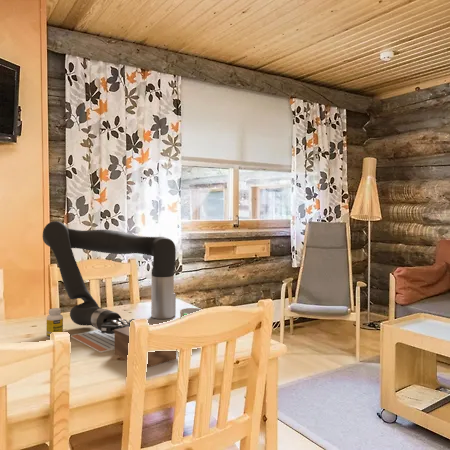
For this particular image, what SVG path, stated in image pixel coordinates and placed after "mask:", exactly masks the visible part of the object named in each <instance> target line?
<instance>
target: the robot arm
mask: <svg viewBox="0 0 450 450" xmlns="http://www.w3.org/2000/svg"><path fill="white" fill-rule="evenodd" d="M42 230H43V231H42V240H43V242H44V244H45V245H46V246H48V247H49V248H50V249H51V250H52V252H53V254H54V256H55V259H56V262H57V265H58V269H59V272H60V277H61V279H62V283H63V285H64V288H65V290H66V293H67V296H68V298H69V299H70V300H76V299H80V300H82V301H83V302H81V303H79V304H76V305H74V306H73V307H72V308H71V309H70V311H69V318H70V319H71V321H72V322H73V323H74V324H75V325H77V326H91V327H94V328H95V330H100V331H101V333H107V334H115V332H114V330H115V329H119V328H124V327H129V326H130V322H131V321H132V320H136V319H134V318H132V319H130V320H129V321H128V320H127V319H123V318H122V317H121V315H120V314H119V313H118V312H115V311H112V310H110V309H107V308H103V307H100V305H99V304H98V302H97V301H96V300H95V299H94V297H93V296H92V295H91V293H90V292H89V290H88V289H87V286H86V283H85V280H84V278H83V275H82V273H81V270H80V269H79V266H78V263H77V261H76V259H75V255H74V252H73V249H79V250H85V251H90V252H97V253H104V254H112V255H113V254H115V255H131V254H140V255H146V256H151V257H152V258H153V259H152V260H153V263H152V268H151V298H150V299H151V304H150V305H151V312H150V313H151V315H150V316H151V318H152V319H157V320H162V319H163V320H165V319H167V320H168V319H171V318H174V317H176V299H177V298H176V296H177V295H176V293H175V292H174V291H175V286H174V285H175V269H176V260H177V259H176V257H177V256H176V255H177V253H176V251H177V250H176V244H175V242H174V241H173V239H171V238H168V237H165V236H143V235H137V234H133V233H128V232H123V231H118V230H113V229H111V230H110V229H91V230H90V229H88V230H81V229H73V228H69V227H67V226H66V224H64V223H62V222H60V221H57V220H55V221H54V220H53V221H51V222H49V223H47V224H46V225H45V227H44V228H43V229H42Z"/></svg>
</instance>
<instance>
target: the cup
mask: <svg viewBox="0 0 450 450" xmlns="http://www.w3.org/2000/svg"><path fill="white" fill-rule="evenodd" d="M201 309H202V308H199V307H187V308H182V309H180V310H179V313H180V314H179V317H180V318H181V317H182V316H183V314H184V313H186V314H190V313H193V312H196V311H199V310H201Z"/></svg>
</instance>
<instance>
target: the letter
mask: <svg viewBox="0 0 450 450" xmlns="http://www.w3.org/2000/svg"><path fill="white" fill-rule="evenodd" d="M70 335H71V337H70V338H72V339H74V340H76V341H78V342H80V343H81V344H83V345H85V346H87V347H89V348H91V349H93V350H95V351H97V352H99V353H105V352H109V351H112V350H113V351H115V334H107V333H101V331H100V330H98V329H95V330H90V331H84V332H78V333H74V334H70Z"/></svg>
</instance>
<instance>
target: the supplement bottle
mask: <svg viewBox="0 0 450 450" xmlns="http://www.w3.org/2000/svg"><path fill="white" fill-rule="evenodd" d="M61 313H62V308H61V307H60V308H59V307H54V308H50V309H48V315H47V316H46V338H47V339H50V334H51V333H52V332H63V333H64V329H63V328H64V315H62V314H61Z"/></svg>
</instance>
